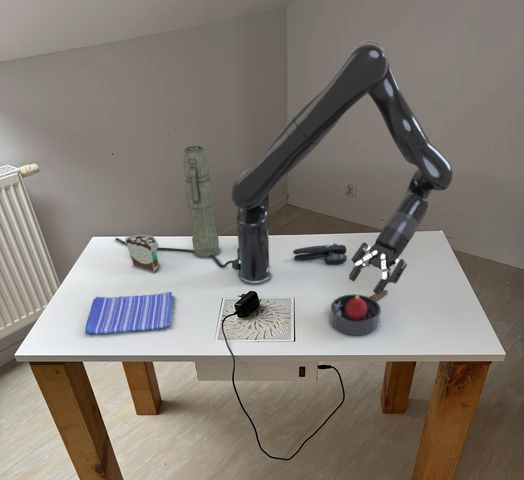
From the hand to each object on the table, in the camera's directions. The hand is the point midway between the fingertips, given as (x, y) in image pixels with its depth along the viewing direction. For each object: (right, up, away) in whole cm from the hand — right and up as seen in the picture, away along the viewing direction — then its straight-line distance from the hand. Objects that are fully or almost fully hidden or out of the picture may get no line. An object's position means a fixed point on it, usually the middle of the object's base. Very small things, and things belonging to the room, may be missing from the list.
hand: (363, 286), depth 126 cm
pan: (-1, -9, +6) cm, 11 cm away
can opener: (-8, +13, +34) cm, 37 cm away
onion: (-1, -9, +6) cm, 11 cm away
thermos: (-46, +17, +41) cm, 64 cm away
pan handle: (+6, -2, +9) cm, 11 cm away
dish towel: (-65, -7, +13) cm, 66 cm away
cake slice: (-65, +12, +35) cm, 75 cm away
